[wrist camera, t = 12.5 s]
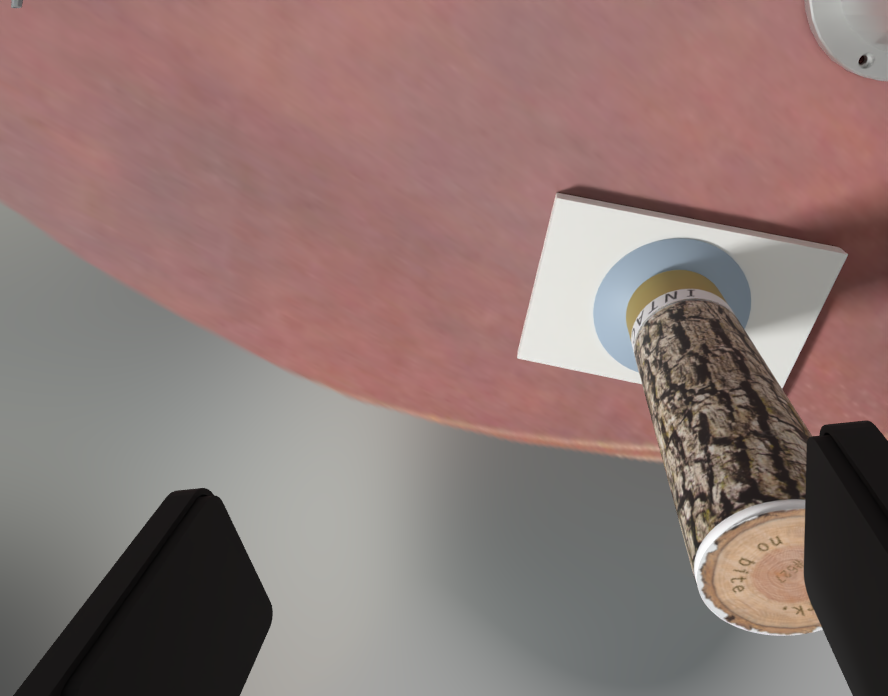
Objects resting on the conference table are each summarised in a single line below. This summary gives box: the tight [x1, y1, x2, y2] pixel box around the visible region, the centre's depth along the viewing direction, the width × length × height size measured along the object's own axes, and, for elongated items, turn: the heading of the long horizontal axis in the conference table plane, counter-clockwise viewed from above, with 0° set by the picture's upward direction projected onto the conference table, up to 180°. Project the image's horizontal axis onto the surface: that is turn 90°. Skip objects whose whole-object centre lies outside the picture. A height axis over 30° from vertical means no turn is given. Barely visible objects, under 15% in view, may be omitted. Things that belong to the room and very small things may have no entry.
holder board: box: [517, 192, 848, 388], centre depth 47 cm, size 20×13×2 cm, turn 81°
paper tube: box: [626, 270, 823, 636], centre depth 36 cm, size 7×7×25 cm
